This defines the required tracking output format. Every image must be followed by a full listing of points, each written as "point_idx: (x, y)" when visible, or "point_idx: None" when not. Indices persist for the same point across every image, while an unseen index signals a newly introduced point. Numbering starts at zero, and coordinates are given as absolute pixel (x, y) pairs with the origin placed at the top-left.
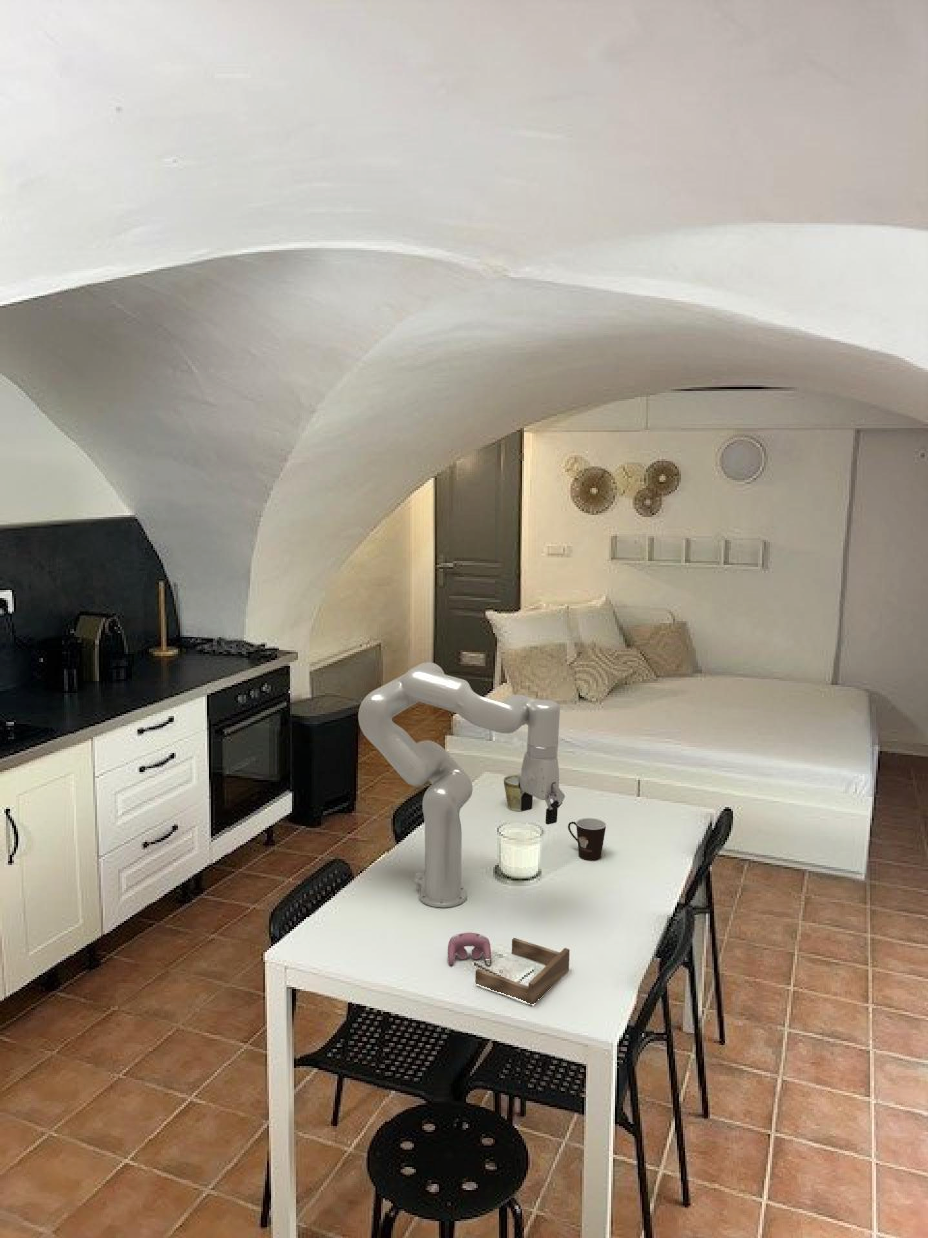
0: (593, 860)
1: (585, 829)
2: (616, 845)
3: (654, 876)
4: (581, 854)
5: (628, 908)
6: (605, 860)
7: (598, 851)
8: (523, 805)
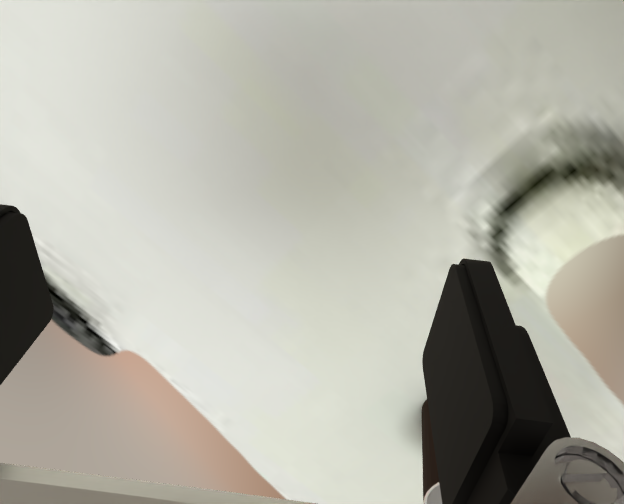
0: (427, 400)
1: None
2: None
3: (269, 426)
4: None
5: (174, 285)
6: (407, 416)
7: (422, 428)
8: (466, 312)
